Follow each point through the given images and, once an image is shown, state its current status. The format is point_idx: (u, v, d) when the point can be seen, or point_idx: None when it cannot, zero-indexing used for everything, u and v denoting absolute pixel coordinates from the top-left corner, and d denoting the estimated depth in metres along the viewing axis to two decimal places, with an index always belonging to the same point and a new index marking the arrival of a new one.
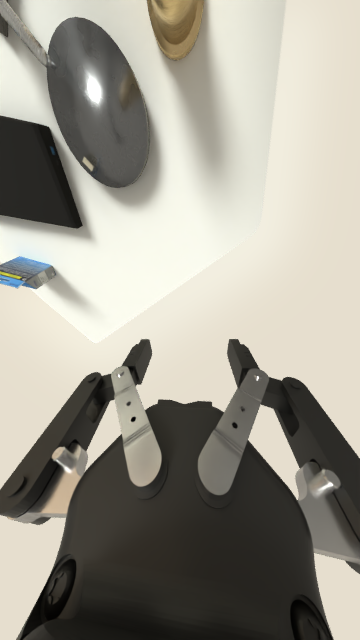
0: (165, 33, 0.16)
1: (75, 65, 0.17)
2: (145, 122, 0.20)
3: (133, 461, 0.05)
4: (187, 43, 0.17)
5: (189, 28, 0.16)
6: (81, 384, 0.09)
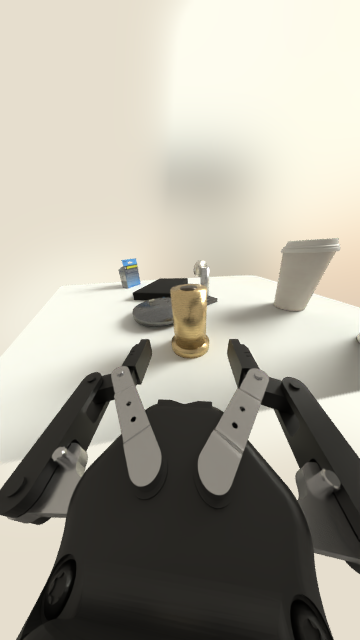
0: None
1: None
2: (152, 319, 0.28)
3: (133, 461, 0.05)
4: (174, 344, 0.22)
5: (177, 342, 0.22)
6: (81, 384, 0.09)
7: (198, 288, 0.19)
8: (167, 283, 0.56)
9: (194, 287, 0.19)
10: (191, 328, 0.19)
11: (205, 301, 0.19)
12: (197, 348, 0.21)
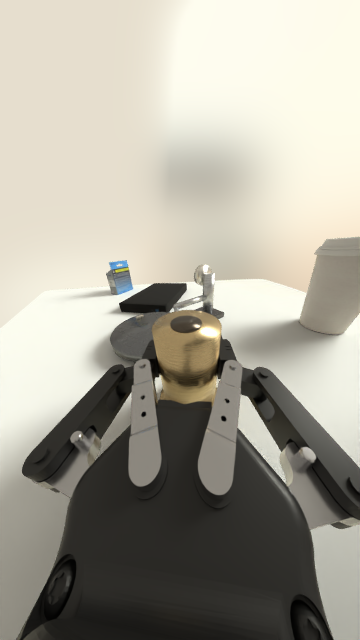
0: None
1: None
2: (134, 353, 0.19)
3: (133, 461, 0.05)
4: None
5: None
6: (106, 373, 0.10)
7: (204, 325, 0.10)
8: (162, 290, 0.47)
9: (197, 323, 0.10)
10: (190, 397, 0.10)
11: (218, 350, 0.10)
12: None
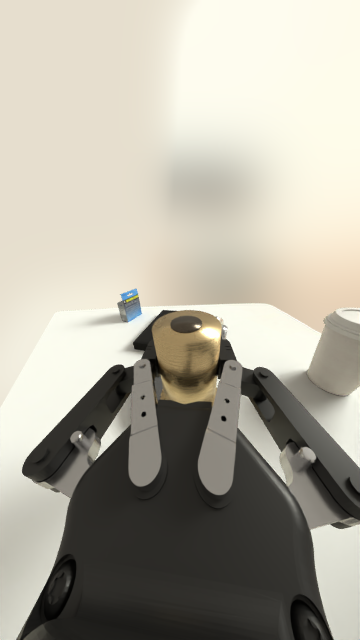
0: None
1: None
2: None
3: (133, 461, 0.05)
4: None
5: None
6: (106, 373, 0.10)
7: (204, 325, 0.10)
8: None
9: (197, 323, 0.10)
10: (191, 397, 0.10)
11: (218, 350, 0.10)
12: None
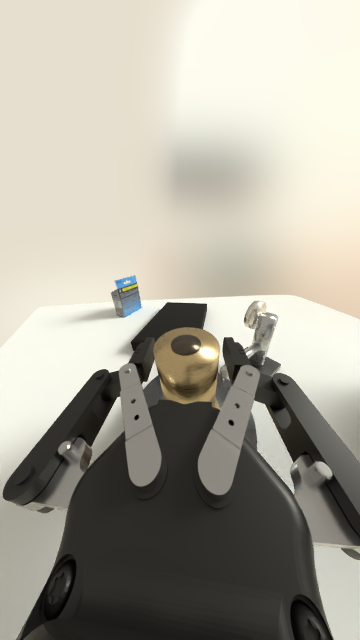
0: None
1: None
2: None
3: (133, 461, 0.05)
4: None
5: None
6: (90, 380, 0.09)
7: (203, 346, 0.10)
8: (181, 316, 0.38)
9: (196, 344, 0.10)
10: None
11: (216, 369, 0.10)
12: None
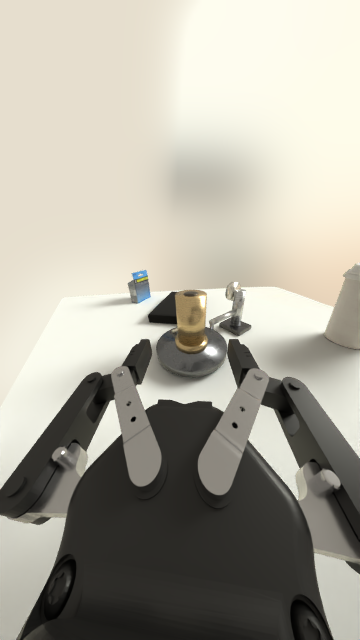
0: None
1: (212, 339, 0.28)
2: (187, 369, 0.21)
3: (133, 461, 0.05)
4: (177, 342, 0.26)
5: (180, 340, 0.25)
6: (81, 384, 0.09)
7: (199, 294, 0.22)
8: None
9: (195, 293, 0.22)
10: (193, 328, 0.22)
11: (205, 305, 0.22)
12: (198, 345, 0.25)
